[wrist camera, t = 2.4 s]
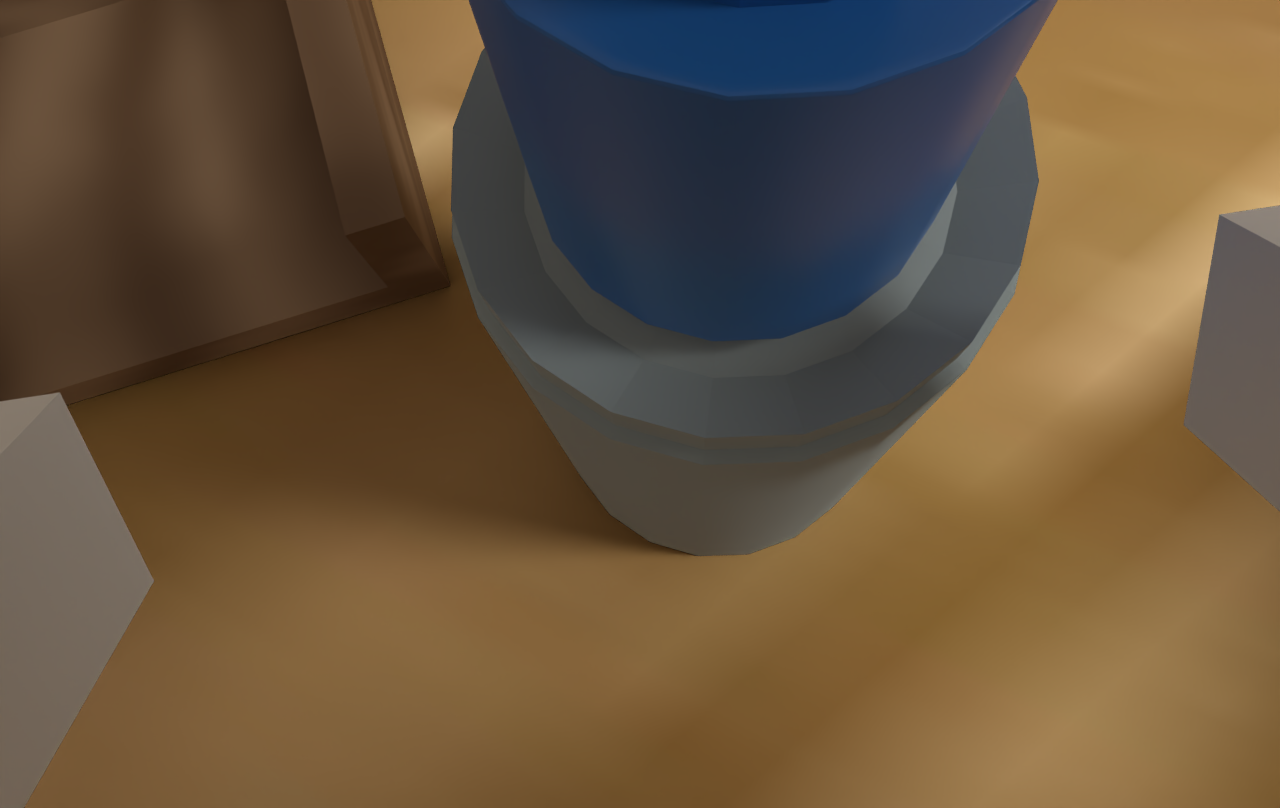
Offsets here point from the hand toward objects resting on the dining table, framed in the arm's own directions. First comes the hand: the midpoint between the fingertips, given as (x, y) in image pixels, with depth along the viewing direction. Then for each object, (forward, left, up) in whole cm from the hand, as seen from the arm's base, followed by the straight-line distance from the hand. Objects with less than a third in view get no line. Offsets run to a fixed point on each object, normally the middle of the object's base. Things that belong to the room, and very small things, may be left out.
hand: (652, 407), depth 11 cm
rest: (+12, -17, -16) cm, 26 cm away
